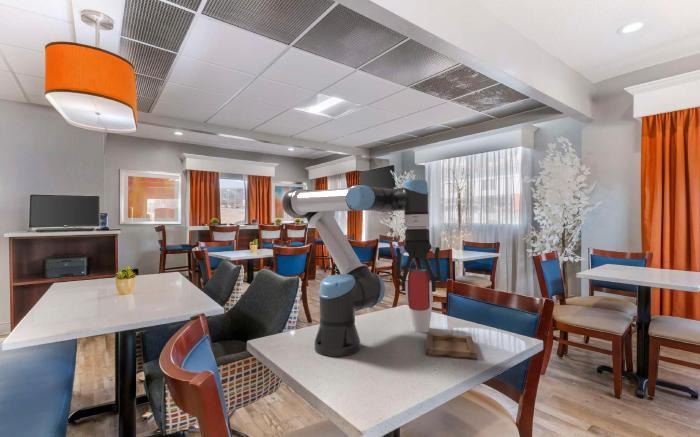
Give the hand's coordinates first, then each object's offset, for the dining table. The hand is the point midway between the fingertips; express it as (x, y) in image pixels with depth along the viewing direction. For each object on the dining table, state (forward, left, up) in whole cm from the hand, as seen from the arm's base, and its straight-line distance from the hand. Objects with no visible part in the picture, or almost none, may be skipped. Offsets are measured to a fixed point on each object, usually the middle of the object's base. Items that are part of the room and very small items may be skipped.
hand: (419, 301), depth 102 cm
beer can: (0, 0, -2) cm, 2 cm away
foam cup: (-1, +24, -17) cm, 29 cm away
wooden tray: (+9, +7, -16) cm, 20 cm away
